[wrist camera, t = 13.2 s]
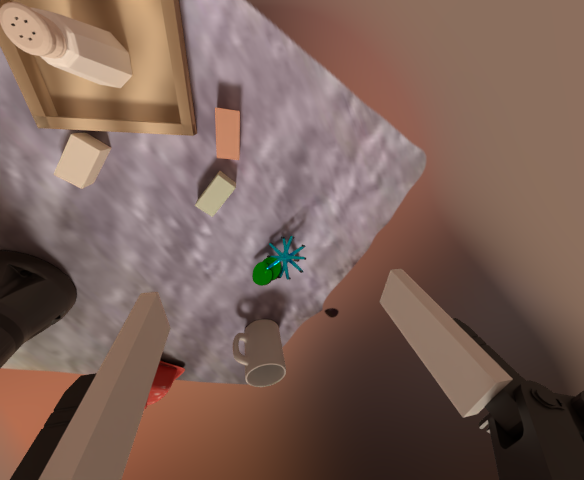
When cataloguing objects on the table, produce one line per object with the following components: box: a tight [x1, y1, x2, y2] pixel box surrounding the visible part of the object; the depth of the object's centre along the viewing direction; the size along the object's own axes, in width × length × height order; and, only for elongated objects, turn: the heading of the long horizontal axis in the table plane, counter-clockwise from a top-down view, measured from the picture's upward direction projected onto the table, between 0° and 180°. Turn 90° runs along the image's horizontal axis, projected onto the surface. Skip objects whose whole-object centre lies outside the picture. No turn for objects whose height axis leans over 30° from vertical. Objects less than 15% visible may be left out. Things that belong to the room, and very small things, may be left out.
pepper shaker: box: [0, 2, 133, 88], centre depth 20 cm, size 5×5×11 cm
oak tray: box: [0, 0, 197, 136], centre depth 24 cm, size 16×14×3 cm
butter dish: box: [144, 361, 185, 409], centre depth 50 cm, size 12×12×8 cm
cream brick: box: [54, 132, 111, 189], centre depth 29 cm, size 6×3×3 cm, turn 139°
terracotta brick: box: [215, 108, 240, 160], centre depth 30 cm, size 6×3×3 cm, turn 173°
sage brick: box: [195, 171, 236, 217], centre depth 34 cm, size 6×3×3 cm, turn 137°
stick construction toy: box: [253, 236, 306, 285], centre depth 42 cm, size 12×7×8 cm
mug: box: [233, 319, 286, 387], centre depth 49 cm, size 12×8×11 cm
